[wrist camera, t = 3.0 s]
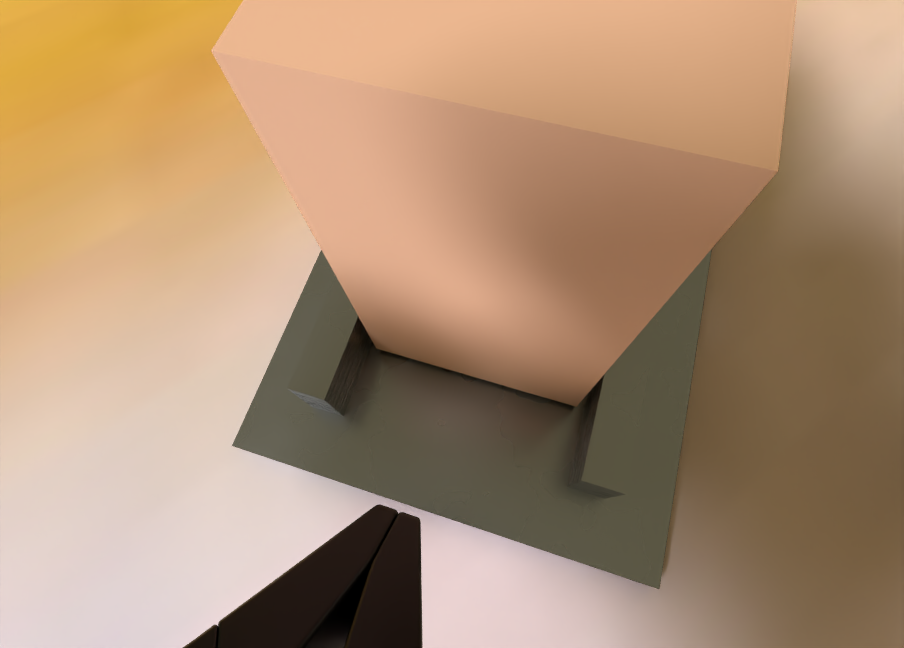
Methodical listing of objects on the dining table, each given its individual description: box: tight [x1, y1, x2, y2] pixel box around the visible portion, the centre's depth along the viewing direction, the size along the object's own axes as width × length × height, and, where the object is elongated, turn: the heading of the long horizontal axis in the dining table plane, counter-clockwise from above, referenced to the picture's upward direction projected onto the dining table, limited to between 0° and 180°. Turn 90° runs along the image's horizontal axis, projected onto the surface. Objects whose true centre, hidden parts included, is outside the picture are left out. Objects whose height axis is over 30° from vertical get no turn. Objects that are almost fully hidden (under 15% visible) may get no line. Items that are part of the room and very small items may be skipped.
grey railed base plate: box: [232, 249, 712, 589], centre depth 19 cm, size 20×14×3 cm
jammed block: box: [211, 0, 797, 407], centre depth 13 cm, size 7×7×12 cm
